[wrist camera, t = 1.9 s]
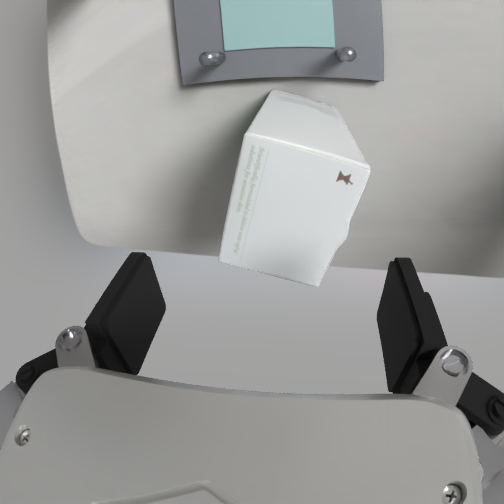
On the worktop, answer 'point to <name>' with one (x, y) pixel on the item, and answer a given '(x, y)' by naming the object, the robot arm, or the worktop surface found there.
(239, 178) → the skincare box
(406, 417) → the robot arm
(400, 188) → the worktop surface
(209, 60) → the guide pins
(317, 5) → the grey base plate
